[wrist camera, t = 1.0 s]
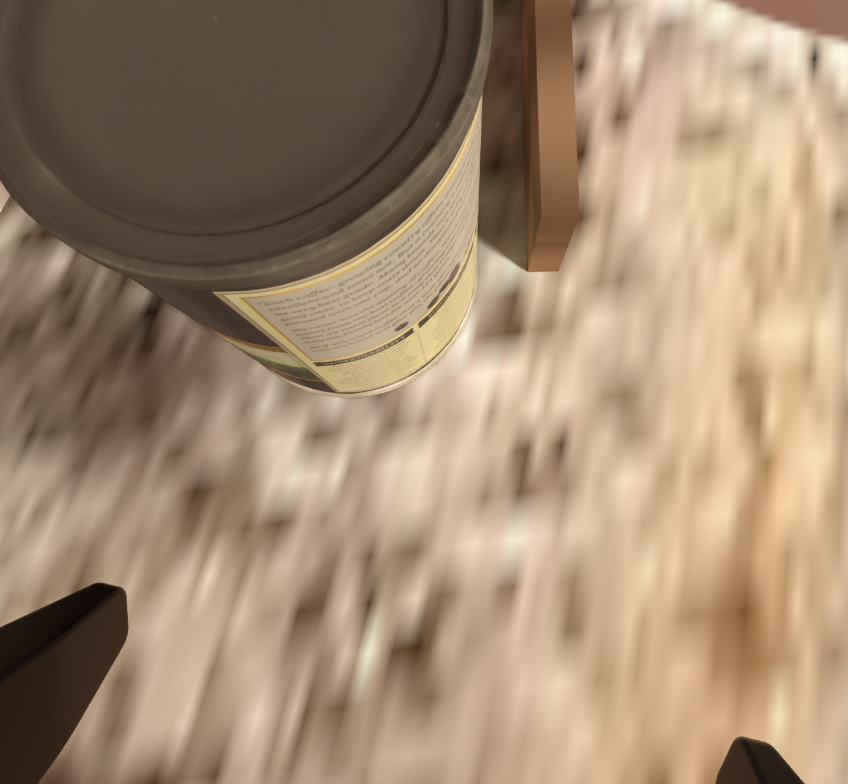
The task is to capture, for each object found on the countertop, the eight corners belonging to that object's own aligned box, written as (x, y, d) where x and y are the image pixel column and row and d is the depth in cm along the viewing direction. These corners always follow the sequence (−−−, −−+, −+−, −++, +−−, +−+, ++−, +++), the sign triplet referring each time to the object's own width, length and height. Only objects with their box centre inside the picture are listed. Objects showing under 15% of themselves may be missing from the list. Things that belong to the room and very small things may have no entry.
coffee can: (215, 394, 25) (-88, 266, 12) (244, 156, 27) (9, -204, 13) (474, 408, 25) (478, 288, 11) (487, 161, 26) (506, -216, 12)
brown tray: (558, 271, 25) (579, 215, 20) (157, 280, 26) (86, 229, 22) (547, -47, 28) (563, -165, 23) (181, -26, 29) (122, -134, 24)
